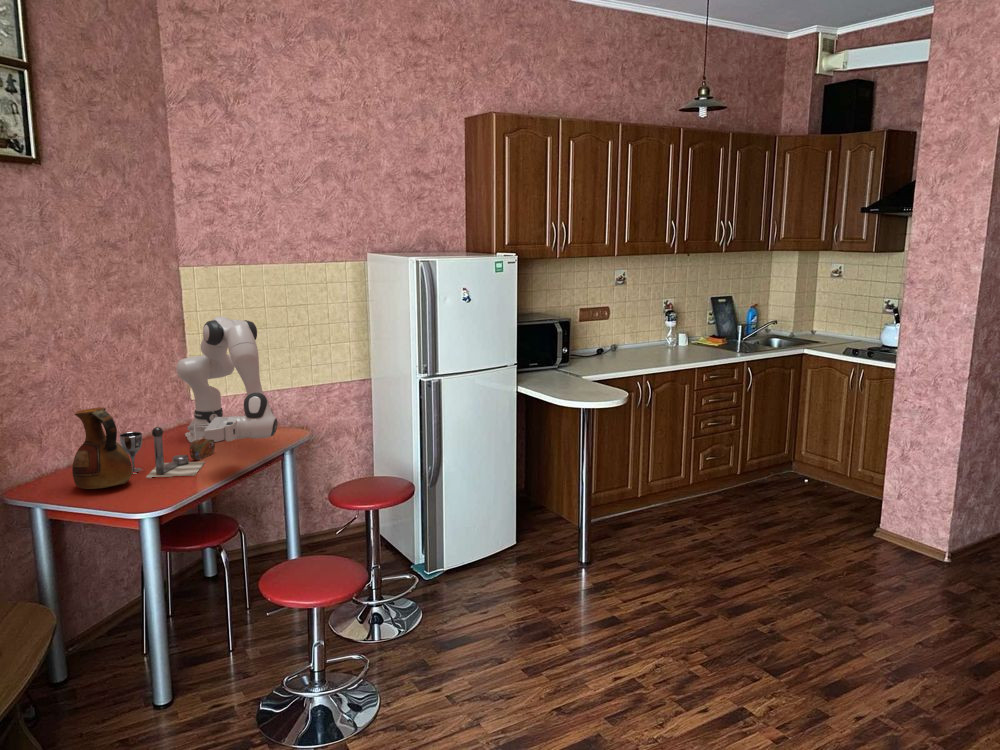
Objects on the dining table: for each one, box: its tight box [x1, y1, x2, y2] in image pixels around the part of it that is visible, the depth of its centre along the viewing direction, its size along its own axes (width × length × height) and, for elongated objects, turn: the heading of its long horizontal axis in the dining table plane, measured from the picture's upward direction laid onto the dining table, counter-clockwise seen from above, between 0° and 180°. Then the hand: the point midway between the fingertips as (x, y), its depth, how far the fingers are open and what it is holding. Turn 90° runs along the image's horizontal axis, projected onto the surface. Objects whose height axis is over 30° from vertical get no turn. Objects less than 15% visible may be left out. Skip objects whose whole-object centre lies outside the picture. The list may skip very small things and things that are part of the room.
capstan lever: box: [151, 426, 190, 474], centre depth 304 cm, size 19×6×18 cm, turn 171°
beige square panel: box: [145, 461, 206, 479], centre depth 306 cm, size 18×18×1 cm
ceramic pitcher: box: [71, 406, 133, 490], centre depth 283 cm, size 20×20×30 cm
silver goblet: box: [119, 431, 143, 474], centre depth 303 cm, size 8×8×15 cm
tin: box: [189, 436, 216, 461], centre depth 323 cm, size 15×3×8 cm, turn 168°
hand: (196, 427), depth 298 cm, fingers closed
